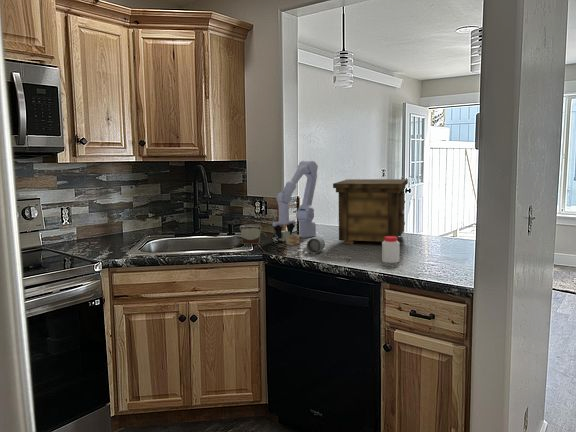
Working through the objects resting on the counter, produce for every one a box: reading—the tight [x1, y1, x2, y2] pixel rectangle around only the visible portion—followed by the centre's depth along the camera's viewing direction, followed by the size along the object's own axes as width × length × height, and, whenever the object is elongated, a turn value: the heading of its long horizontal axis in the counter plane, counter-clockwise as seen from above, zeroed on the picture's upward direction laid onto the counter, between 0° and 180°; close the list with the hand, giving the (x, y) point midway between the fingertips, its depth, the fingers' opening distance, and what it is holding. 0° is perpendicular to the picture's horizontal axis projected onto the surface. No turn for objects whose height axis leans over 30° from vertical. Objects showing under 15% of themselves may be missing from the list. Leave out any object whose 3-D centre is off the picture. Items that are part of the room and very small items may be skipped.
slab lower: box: [285, 240, 300, 246], centre depth 261 cm, size 5×5×2 cm
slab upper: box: [286, 233, 300, 241], centre depth 261 cm, size 5×5×2 cm
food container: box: [239, 223, 263, 245], centre depth 266 cm, size 12×6×10 cm, turn 84°
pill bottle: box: [381, 236, 401, 264], centre depth 216 cm, size 8×8×11 cm
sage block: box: [278, 230, 290, 242], centre depth 272 cm, size 4×4×5 cm
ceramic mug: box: [302, 236, 326, 254], centre depth 239 cm, size 11×8×8 cm
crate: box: [332, 178, 409, 245], centre depth 264 cm, size 35×35×33 cm
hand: (284, 237), depth 272 cm, fingers open, 6 cm apart
